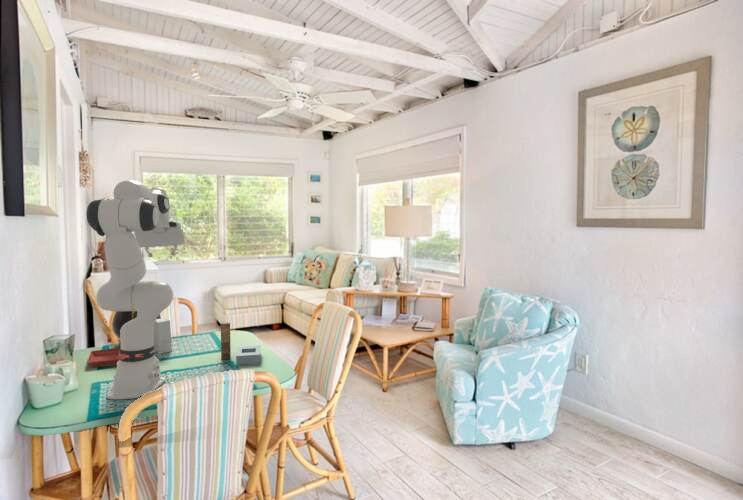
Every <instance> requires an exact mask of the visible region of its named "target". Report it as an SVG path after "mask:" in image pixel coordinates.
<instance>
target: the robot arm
mask: <svg viewBox="0 0 743 500" xmlns="http://www.w3.org/2000/svg"><path fill="white" fill-rule="evenodd" d="M112 195H113V198H114V199H111V198H110V199H102V198H101V199H96V200H91V201H90V202H89V204H88V206H87V208H86V215H85V216H86V222H87V224H88V225H89V226H90V227H91V229H92V230H93V231H94V232H96V233H97V235H98V236H100V237H104V236H105V239H104V254H105V258H106V262H107V265H108V269H109V274H110V279H109V281H108V282H106V283H103V284H102V285H101V286H100V288H99V289H98V291H97V293H96V303H97V305H98V306H99V308H100V309H101V310H103V311H109V312H115V313H116V312H121V311H137V317H136V318H135V319H132V320H130V321H128V322H127V323H125V324H124V325H123V326H122V328H121V330H120V339H119V341H121V346H120V347H119V348H120V351H119V356H118V359H119V361H118V362H117V364H116V367H115V373H114V375H113V380H112V381H110V386H109V388H108V391H107V395H106V399H109V400H129V399H138V398H139V399H140V398H141V397H140V396H142V395H144V394H146V393H148V392H150V391H153V390H155V389H156V390H157V389H158V388H159V387H161V386H162V385H163V384H164V383H165V382H166V378H165V377H163V376H161V365H160V363H161V362H160V359H158V358H157V357H156V351H155V345H154V344H153V333H154V324H155V321H156V319H157V317H158V316H159V314H160V315H161V313H162V312H163V311H164V310H166V309H167V308H168V307H169V306H170V305H171V303H172V302H173V300H174V299H173V298H174V291H173V289H172V286H170V284H168V283H166V282H161V281H157V280H156V281H153V280H151V281H142V280H143V278H144V277H145V276H146V272H147V268H146V264H145V260H144V255H143V252H142V249H141V248H144V250H145V252H146V253H147V255H148V256H147V257H148V258H153V257H154V256H153V253H152V252H150V248H151V247H155V248H156V247H165V246H167V247H168V246H173V250H171V251H170V252H171V256H176V251H177V249H178V246H179V245H185V244H186V241H187V240H186V236H185V232H184V230H183V229H182V224H181V223H180V222H177V221H174V220H173V221H172V220H171V216H170V214H169V212H170V209H171V208H170V200H169V198H168V194H167V191H166V190H165V189H164V188H161V187H152V188H150V187H148V186H147V185H146V184H145V183H142V182H140V181H137V180H131V179H130V180H128V179H127V180H122V181H120V182H119V183H117V184H116V185H115V187H114V189H113V193H112ZM156 390H155V391H156ZM153 392H154V391H153Z"/></svg>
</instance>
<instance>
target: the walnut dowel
mask: <svg viewBox="0 0 743 500" xmlns="http://www.w3.org/2000/svg"><path fill="white" fill-rule="evenodd" d="M231 353H232V352H231V322H228V321H227V322H221V323H220V354H221V355H220V359H221V361H228V360H231Z"/></svg>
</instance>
